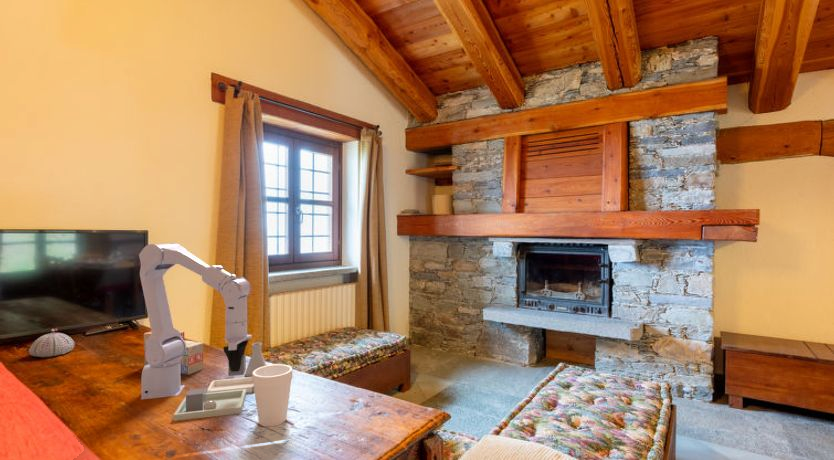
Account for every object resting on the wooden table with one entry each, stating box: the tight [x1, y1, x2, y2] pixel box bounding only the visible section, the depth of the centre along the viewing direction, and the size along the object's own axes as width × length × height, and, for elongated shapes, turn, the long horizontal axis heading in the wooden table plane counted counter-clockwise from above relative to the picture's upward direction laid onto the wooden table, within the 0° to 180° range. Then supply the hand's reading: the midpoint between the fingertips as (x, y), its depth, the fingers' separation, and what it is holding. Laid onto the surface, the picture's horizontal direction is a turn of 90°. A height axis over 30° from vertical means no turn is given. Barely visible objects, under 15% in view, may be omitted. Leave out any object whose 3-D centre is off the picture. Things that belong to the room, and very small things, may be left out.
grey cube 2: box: [185, 387, 207, 412], centre depth 110 cm, size 4×4×4 cm
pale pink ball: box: [204, 400, 216, 410], centre depth 107 cm, size 3×3×3 cm
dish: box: [206, 376, 255, 394], centre depth 123 cm, size 13×9×2 cm
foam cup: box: [252, 363, 293, 427], centre depth 103 cm, size 10×9×13 cm
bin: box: [172, 389, 247, 422], centre depth 111 cm, size 16×13×2 cm
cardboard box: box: [143, 330, 204, 376], centre depth 143 cm, size 21×6×12 cm, turn 68°
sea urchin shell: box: [28, 332, 76, 358], centre depth 159 cm, size 13×14×8 cm
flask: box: [244, 342, 267, 377], centre depth 137 cm, size 7×7×10 cm
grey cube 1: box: [227, 354, 247, 377], centre depth 118 cm, size 4×4×4 cm
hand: (236, 368), depth 118 cm, fingers closed on grey cube 1, 4 cm apart
